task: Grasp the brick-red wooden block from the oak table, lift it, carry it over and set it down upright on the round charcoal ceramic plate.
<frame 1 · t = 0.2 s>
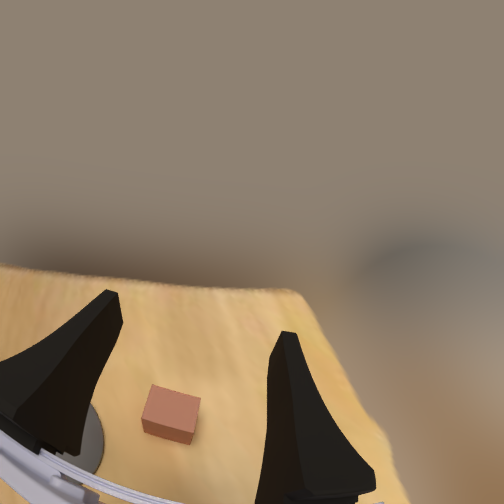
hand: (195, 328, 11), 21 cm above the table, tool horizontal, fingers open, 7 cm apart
block: (170, 423, 25), on the table
plate: (45, 431, 18), on the table
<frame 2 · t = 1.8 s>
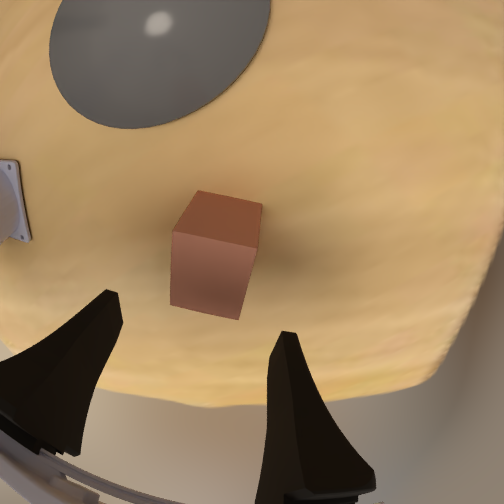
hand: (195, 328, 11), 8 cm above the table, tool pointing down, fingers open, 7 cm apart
block: (223, 231, 18), on the table
plate: (145, 18, 10), on the table
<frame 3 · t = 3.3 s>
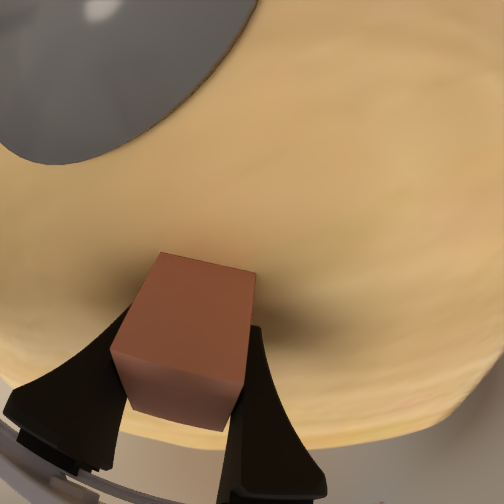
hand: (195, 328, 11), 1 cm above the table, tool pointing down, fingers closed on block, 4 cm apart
block: (201, 304, 13), on the table, touching gripper
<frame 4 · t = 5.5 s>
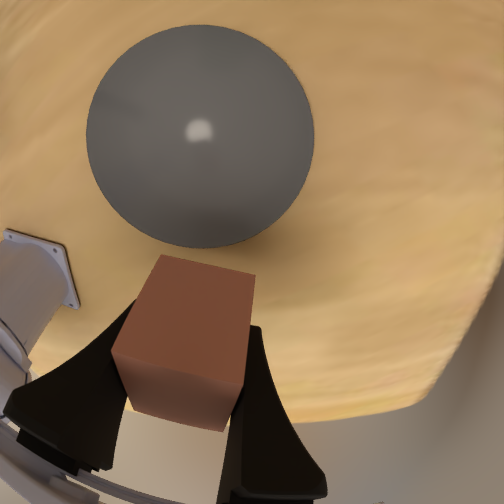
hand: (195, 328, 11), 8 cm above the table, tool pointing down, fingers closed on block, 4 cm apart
block: (202, 306, 13), point 7 cm above the table, touching gripper
plate: (190, 140, 15), on the table
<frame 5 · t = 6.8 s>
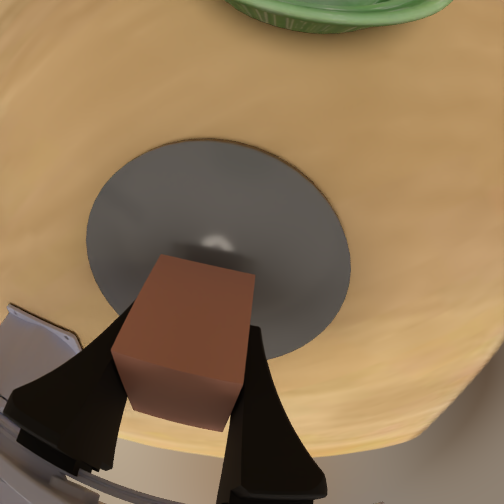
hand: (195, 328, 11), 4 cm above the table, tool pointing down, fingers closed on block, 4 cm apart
block: (201, 306, 13), point 2 cm above the table, touching gripper
plate: (210, 275, 14), on the table
when the fingers open (3 cm above the table, at t = 7.7 s): block drops 1 cm, resting on plate.
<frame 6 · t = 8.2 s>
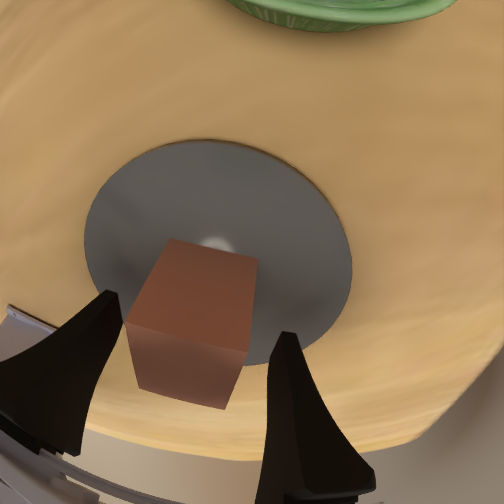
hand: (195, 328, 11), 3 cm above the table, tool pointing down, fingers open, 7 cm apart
block: (206, 289, 14), point 1 cm above the table, touching plate
plate: (210, 278, 14), on the table
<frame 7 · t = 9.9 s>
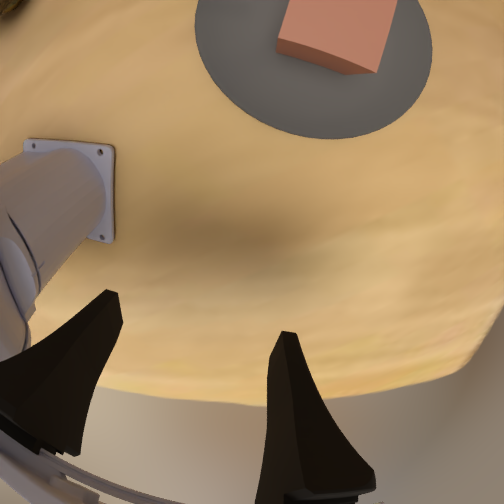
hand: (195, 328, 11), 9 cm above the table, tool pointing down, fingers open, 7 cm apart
block: (322, 25, 11), point 1 cm above the table, touching plate
plate: (320, 27, 11), on the table
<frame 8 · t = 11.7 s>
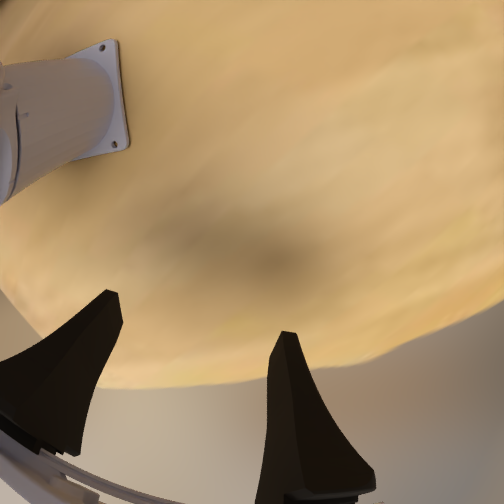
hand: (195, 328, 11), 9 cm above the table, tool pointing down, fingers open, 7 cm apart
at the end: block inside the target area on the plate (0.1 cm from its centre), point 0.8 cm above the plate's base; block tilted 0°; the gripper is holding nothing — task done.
